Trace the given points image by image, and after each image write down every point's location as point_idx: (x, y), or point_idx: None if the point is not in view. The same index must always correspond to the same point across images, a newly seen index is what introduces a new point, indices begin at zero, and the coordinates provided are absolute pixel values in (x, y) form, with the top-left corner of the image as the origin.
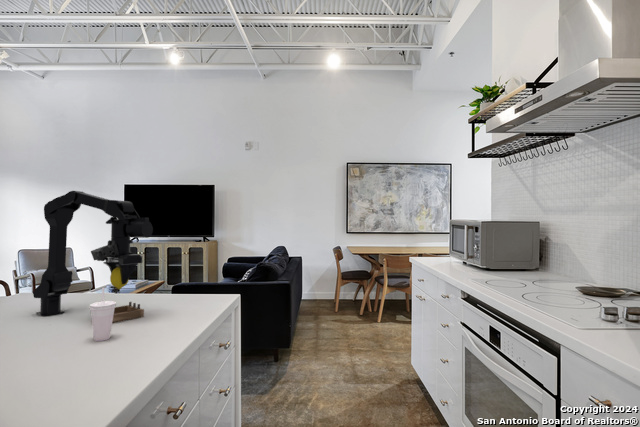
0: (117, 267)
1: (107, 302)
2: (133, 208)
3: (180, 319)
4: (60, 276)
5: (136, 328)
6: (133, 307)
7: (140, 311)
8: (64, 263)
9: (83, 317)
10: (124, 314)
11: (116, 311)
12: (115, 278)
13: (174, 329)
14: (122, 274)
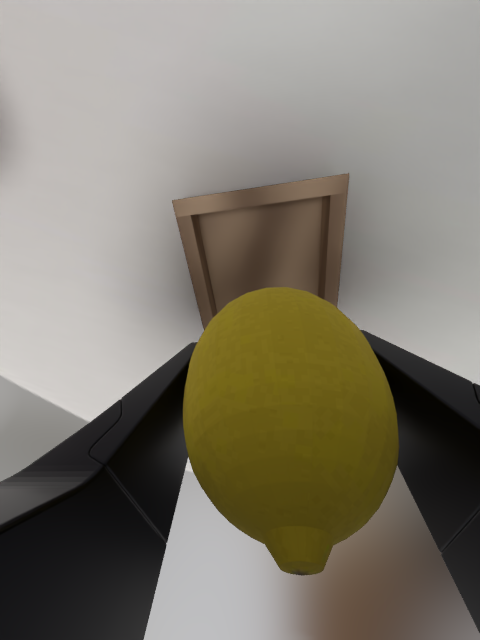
0: (292, 511)
1: None
2: None
3: (113, 375)
4: None
5: (64, 256)
6: None
7: (204, 326)
8: None
9: (412, 134)
10: (191, 268)
11: (321, 274)
12: (210, 331)
13: (9, 328)
14: (114, 407)
